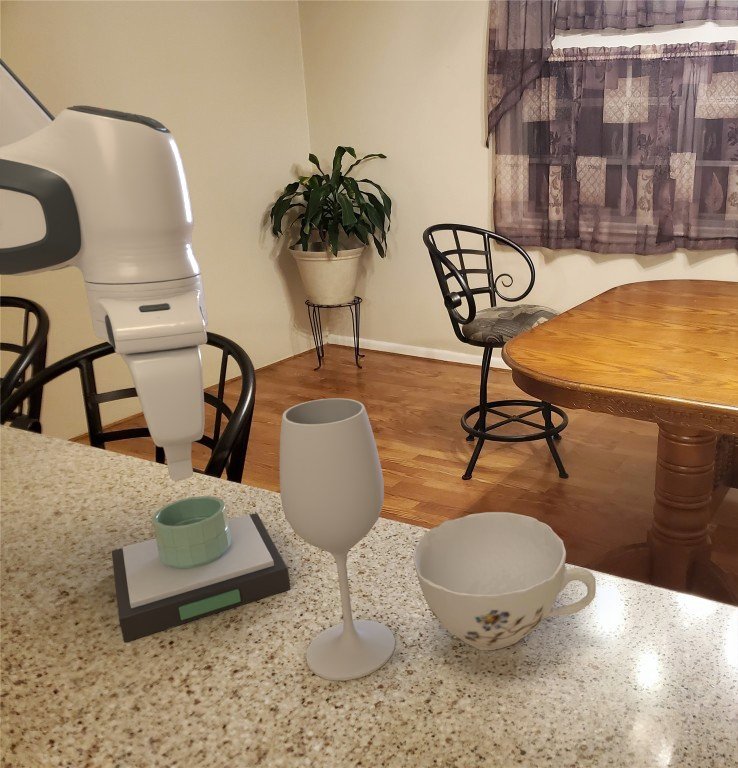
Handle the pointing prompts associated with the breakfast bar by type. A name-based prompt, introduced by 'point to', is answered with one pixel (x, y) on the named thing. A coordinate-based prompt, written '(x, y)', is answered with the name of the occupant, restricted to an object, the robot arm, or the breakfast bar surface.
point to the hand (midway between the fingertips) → (174, 458)
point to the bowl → (192, 531)
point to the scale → (195, 580)
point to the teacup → (495, 577)
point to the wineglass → (335, 517)
